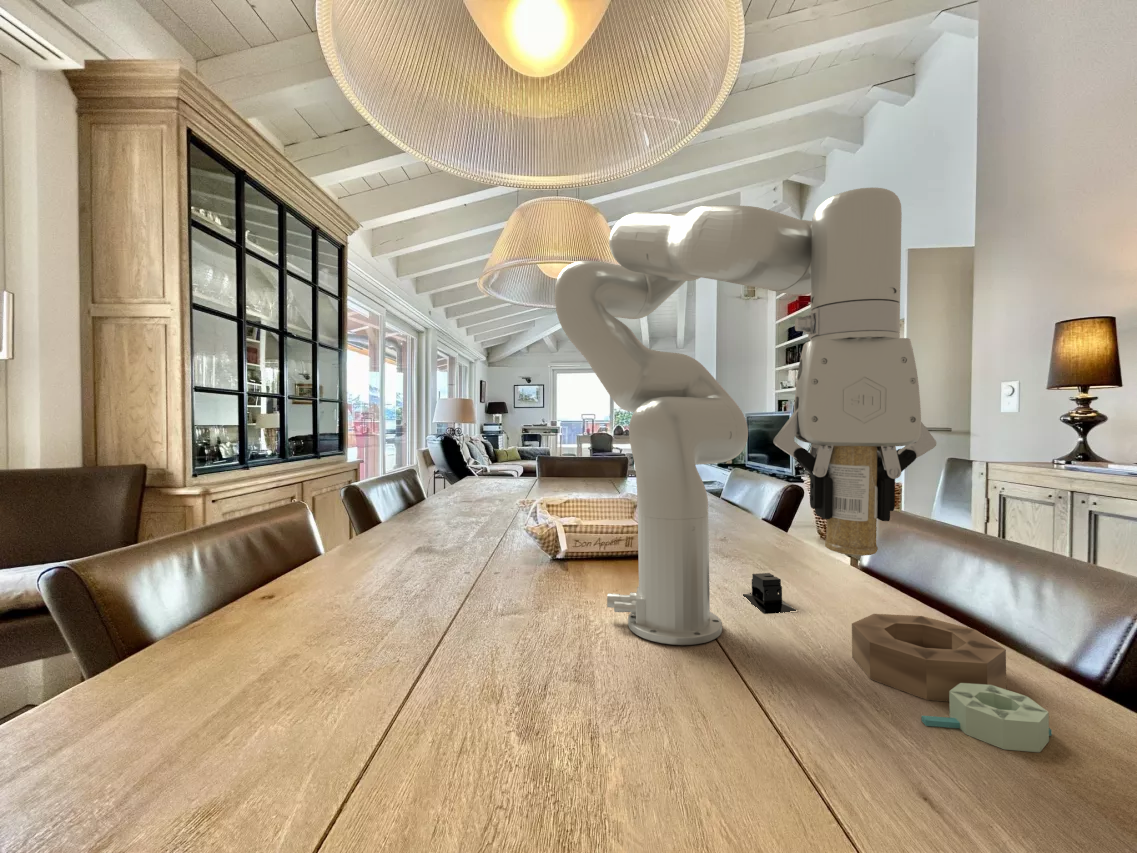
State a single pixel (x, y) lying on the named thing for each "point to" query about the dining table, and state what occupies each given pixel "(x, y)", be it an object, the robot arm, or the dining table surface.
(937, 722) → the teal bar
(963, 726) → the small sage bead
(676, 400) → the robot arm
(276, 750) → the dining table surface
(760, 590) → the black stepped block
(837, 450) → the sprinkles bottle
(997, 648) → the brown octagonal holder
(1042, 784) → the dining table surface
